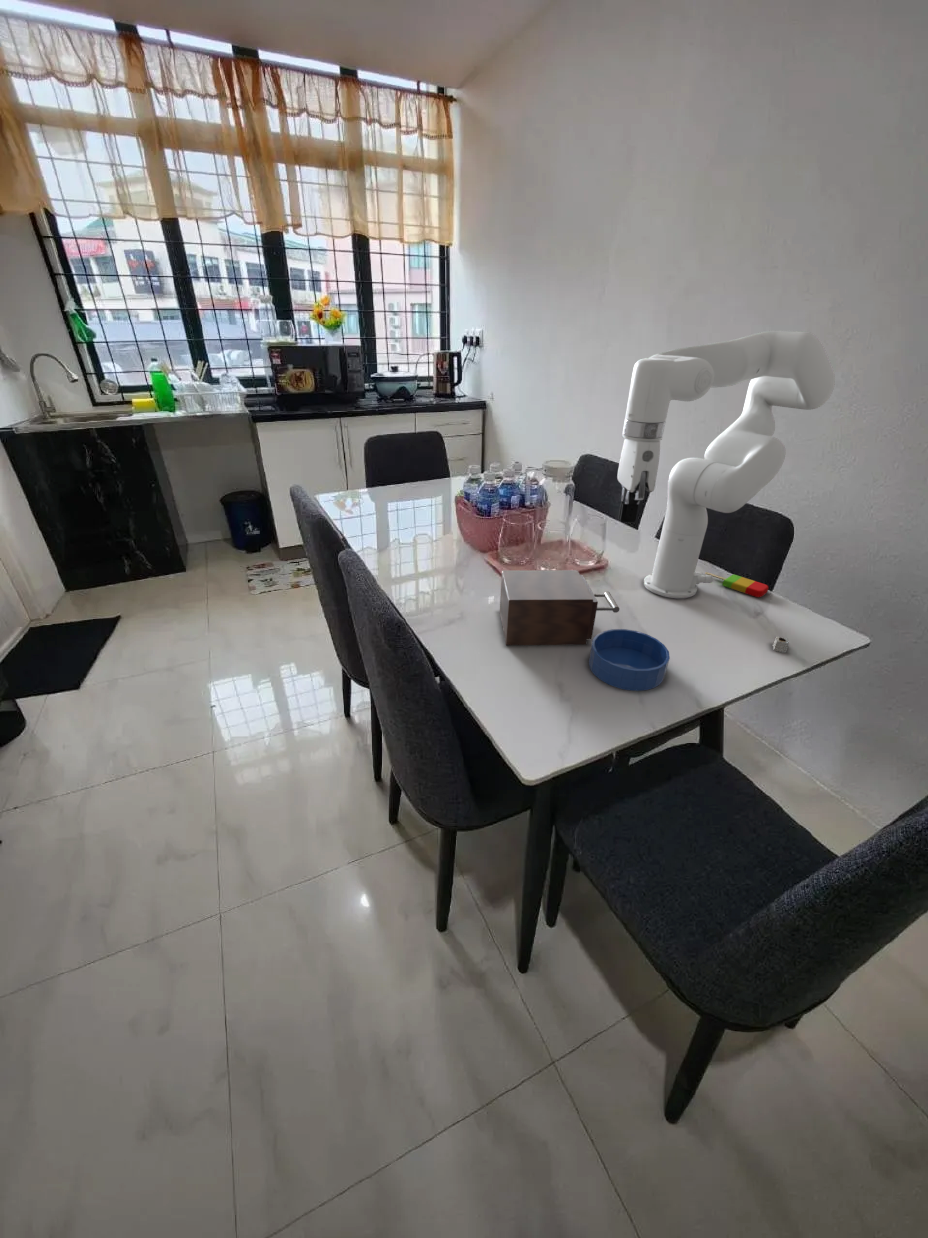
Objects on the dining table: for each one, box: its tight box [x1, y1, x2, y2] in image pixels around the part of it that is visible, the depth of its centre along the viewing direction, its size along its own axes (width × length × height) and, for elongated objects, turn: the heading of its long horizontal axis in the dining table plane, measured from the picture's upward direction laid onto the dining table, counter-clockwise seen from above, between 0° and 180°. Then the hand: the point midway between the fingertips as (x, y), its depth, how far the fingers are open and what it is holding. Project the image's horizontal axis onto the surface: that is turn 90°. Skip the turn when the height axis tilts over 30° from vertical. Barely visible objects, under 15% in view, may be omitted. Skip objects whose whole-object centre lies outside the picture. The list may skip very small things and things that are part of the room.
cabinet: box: [499, 569, 593, 646], centre depth 106 cm, size 17×14×11 cm
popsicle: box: [704, 571, 769, 598], centre depth 128 cm, size 6×15×2 cm, turn 43°
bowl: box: [588, 628, 671, 692], centre depth 95 cm, size 14×14×4 cm
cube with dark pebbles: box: [772, 636, 790, 654], centre depth 102 cm, size 2×2×2 cm
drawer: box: [580, 574, 620, 640], centre depth 106 cm, size 21×12×9 cm, turn 92°
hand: (626, 520), depth 107 cm, fingers closed
